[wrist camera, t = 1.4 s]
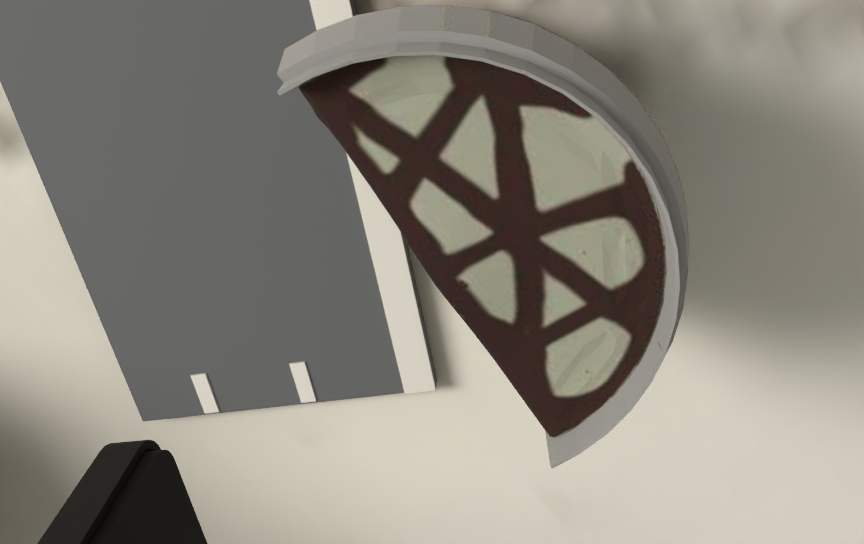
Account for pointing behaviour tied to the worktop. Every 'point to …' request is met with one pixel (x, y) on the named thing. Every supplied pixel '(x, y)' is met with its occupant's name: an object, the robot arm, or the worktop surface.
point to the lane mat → (212, 204)
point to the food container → (516, 196)
